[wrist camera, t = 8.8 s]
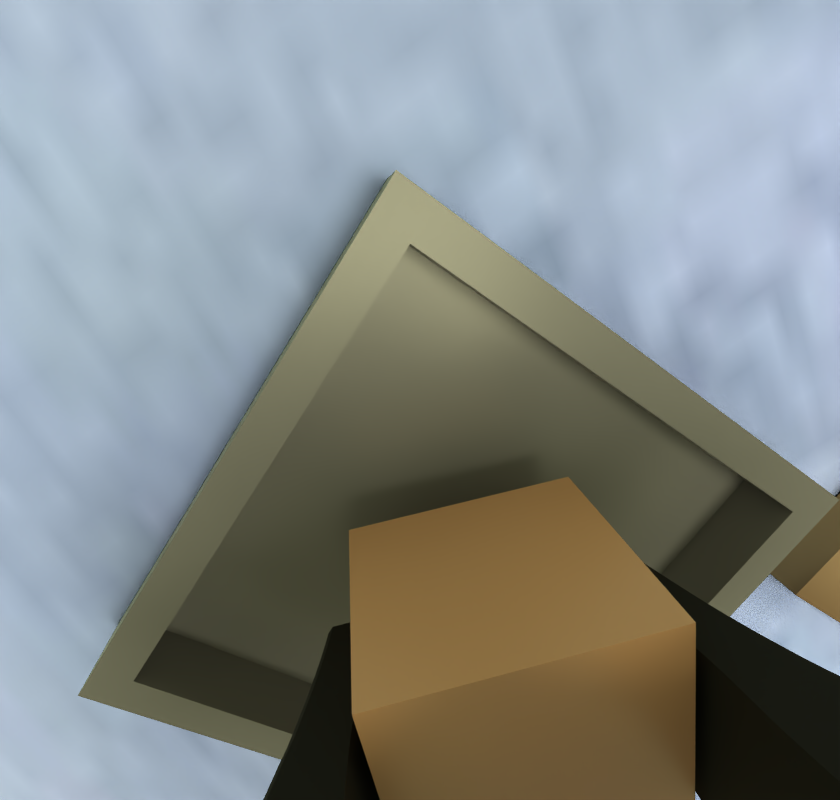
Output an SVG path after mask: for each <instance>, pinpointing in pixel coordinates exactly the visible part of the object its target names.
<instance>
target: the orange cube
mask: <svg viewBox="0 0 840 800" xmlns="http://www.w3.org/2000/svg"><path fill="white" fill-rule="evenodd" d="M349 566H350V630H351V693H352V717H353V720H354V723H355V726H356V729H357V732H358V735H359V738H360V741H361V744H362V747H363V750H364V753H365V756H366V759H367V762H368V765H369V768H370V771H371V774H372V777H373V780H374V783H375V786H376V789H377V792H378V795H379V798H380V800H695V707H696V622H695V621H694V620H693V619H692V618H691V616H690V615H689V614H688V613H687V612H686V611H685V610H684V608H683V607H682V606H681V605H680V604H679V603H678V602H677V600H676V599H675V598H674V597H673V596H672V595H671V594H670V592H669V591H668V590H667V589H666V588H665V587H664V586H663V584H662V583H661V582H660V581H659V580H658V579H657V578H656V576H655V575H654V574H653V573H652V572H651V571H650V570H649V568H648V567H647V566H646V565H645V564H644V563H643V562H642V560H641V559H640V558H639V557H638V556H637V555H636V554H635V552H634V551H633V550H632V549H631V548H630V547H629V546H628V544H627V543H626V542H625V541H624V540H623V539H622V538H621V536H620V535H619V534H618V533H617V532H616V531H615V530H614V528H613V527H612V526H611V525H610V524H609V523H608V522H607V520H606V519H605V518H604V517H603V516H602V515H601V514H600V512H599V511H598V510H597V509H596V508H595V507H594V506H593V504H592V503H591V502H590V501H589V500H588V499H587V498H586V496H585V495H584V494H583V493H582V492H581V491H580V490H579V488H578V487H577V486H576V485H575V484H574V483H573V482H572V480H571V479H570V478H569V477H565V478H561V479H556V480H552V481H548V482H544V483H540V484H536V485H532V486H528V487H524V488H519V489H515V490H511V491H507V492H503V493H499V494H495V495H491V496H487V497H482V498H478V499H474V500H470V501H466V502H462V503H458V504H454V505H450V506H446V507H441V508H437V509H433V510H429V511H425V512H421V513H417V514H413V515H409V516H404V517H400V518H396V519H392V520H388V521H384V522H380V523H376V524H372V525H367V526H363V527H359V528H355V529H351V530H349Z"/></svg>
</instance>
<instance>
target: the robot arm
mask: <svg viewBox="0 0 840 800" xmlns="http://www.w3.org/2000/svg"><path fill="white" fill-rule="evenodd" d="M644 564H645V563H644ZM645 565H646V564H645ZM646 566H647V567H648V568H649V570H650V571H651V572H652V573H653V574H654V575H655V576H656V578H657V579H658V580H659V581H660V582H661V583H662V584H663V586H664V587H665V588H666V589H667V590H668V591H669V592H670V594H671V595H672V596H673V597H674V598H675V599H676V600H677V602H678V603H679V604H680V605H681V606H682V607H683V608H684V610H685V611H686V612H687V613H688V614H689V615H690V616H691V618H692V619H693V620H694V621H695V622H696V707H695V791H696V793H697V794H698V796H699V797H700V799H701V800H840V676H838V675H836V674H834V673H832V672H830V671H828V670H826V669H824V668H822V667H820V666H818V665H816V664H814V663H812V662H810V661H808V660H806V659H804V658H802V657H801V656H799V655H797V654H795V653H793V652H791V651H790V650H788V649H786V648H784V647H782V646H780V645H778V644H777V643H775V642H773V641H771V640H769V639H767V638H766V637H764V636H762V635H760V634H758V633H757V632H755V631H753V630H751V629H750V628H748V627H746V626H744V625H743V624H741V623H739V622H737V621H736V620H734V619H732V618H731V617H729V616H727V615H726V614H724V613H722V612H721V611H719V610H717V609H716V608H714V607H712V606H711V605H709V604H707V603H706V602H704V601H703V600H701V599H699V598H698V597H696V596H695V595H693V594H691V593H690V592H688V591H687V590H685V589H684V588H682V587H680V586H679V585H677V584H676V583H674V582H673V581H671V580H669V579H668V578H666V577H665V576H663V575H662V574H660V573H659V572H657V571H656V570H654V569H652V568H651V567H649V566H648V565H646ZM263 800H380V798H379V795H378V792H377V789H376V786H375V783H374V780H373V777H372V774H371V771H370V768H369V765H368V762H367V759H366V756H365V753H364V750H363V747H362V744H361V741H360V738H359V735H358V732H357V729H356V726H355V723H354V720H353V717H352V693H351V630H350V622H349V623H345V624H342V625H338V626H334V627H332V629H331V630H330V631H329V633H328V637H327V640H326V644H325V647H324V650H323V653H322V656H321V660H320V663H319V666H318V668H317V671H316V674H315V677H314V680H313V683H312V685H311V688H310V691H309V694H308V696H307V699H306V702H305V704H304V707H303V709H302V712H301V714H300V717H299V719H298V722H297V724H296V727H295V729H294V732H293V734H292V737H291V739H290V742H289V744H288V746H287V749H286V751H285V753H284V755H283V757H282V760H281V762H280V764H279V766H278V769H277V771H276V773H275V775H274V777H273V780H272V782H271V784H270V786H269V788H268V791H267V793H266V795H265V797H264V799H263Z"/></svg>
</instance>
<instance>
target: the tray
mask: <svg viewBox="0 0 840 800" xmlns="http://www.w3.org/2000/svg"><path fill="white" fill-rule="evenodd" d="M565 477H569V478H570V479H571V480H572V482H573V483H574V484H575V485H576V486H577V487H578V488H579V490H580V491H581V492H582V493H583V494H584V495H585V496H586V498H587V499H588V500H589V501H590V502H591V503H592V504H593V506H594V507H595V508H596V509H597V510H598V511H599V512H600V514H601V515H602V516H603V517H604V518H605V519H606V520H607V522H608V523H609V524H610V525H611V526H612V527H613V528H614V530H615V531H616V532H617V533H618V534H619V535H620V536H621V538H622V539H623V540H624V541H625V542H626V543H627V544H628V546H629V547H630V548H631V549H632V550H633V551H634V552H635V554H636V555H637V556H638V557H639V558H640V559H641V560H642V562H643V563H645V564H646V565H648V566H649V567H651V568H652V569H654V570H656V571H657V572H659V573H660V574H662V575H663V576H665V577H666V578H668V579H669V580H671V581H673V582H674V583H676V584H677V585H679V586H680V587H682V588H684V589H685V590H687V591H688V592H690V593H691V594H693V595H695V596H696V597H698V598H699V599H701V600H703V601H704V602H706V603H707V604H709V605H711V606H712V607H714V608H716V609H717V610H719V611H721V612H722V613H724V614H726V615H727V616H729V617H730V616H731V615H732V614H733V612H734V611H735V610H736V609H737V608H738V607H739V606H740V605H741V604H742V603H743V602H744V601H745V600H746V599H747V598H748V597H749V595H750V594H751V593H752V592H753V591H754V590H755V589H756V588H757V587H758V586H759V585H760V584H761V583H762V582H763V581H764V580H765V578H766V577H767V576H768V575H769V574H770V573H771V572H772V571H773V570H774V569H775V568H776V567H777V566H778V565H779V564H780V563H781V561H782V560H783V559H784V558H785V557H786V556H787V555H788V554H789V553H790V552H791V551H792V550H793V549H794V548H795V547H796V546H797V544H798V543H799V542H800V541H801V540H802V539H803V538H804V537H805V536H806V535H807V534H808V533H809V532H810V531H811V530H812V529H813V527H814V526H815V525H816V524H817V523H818V522H819V521H820V520H821V519H822V518H823V517H824V516H825V515H826V514H827V513H828V512H829V510H830V509H831V508H832V507H833V506H834V505H835V504H836V503H837V502H838V501H839V499H837V498H836V497H835V496H833V495H832V494H831V493H829V492H828V491H827V490H825V489H824V488H823V487H821V486H820V485H819V484H817V483H816V482H815V481H813V480H812V479H811V478H809V477H808V476H807V475H805V474H804V473H803V472H801V471H800V470H799V469H797V468H796V467H794V466H793V465H792V464H790V463H789V462H788V461H786V460H785V459H784V458H782V457H781V456H780V455H778V454H777V453H776V452H774V451H773V450H772V449H770V448H769V447H768V446H766V445H765V444H764V443H762V442H761V441H760V440H758V439H757V438H756V437H754V436H753V435H751V434H750V433H749V432H747V431H746V430H745V429H743V428H742V427H741V426H739V425H738V424H737V423H735V422H734V421H733V420H731V419H730V418H729V417H727V416H726V415H725V414H723V413H722V412H721V411H719V410H718V409H717V408H715V407H714V406H713V405H711V404H710V403H708V402H707V401H706V400H704V399H703V398H702V397H700V396H699V395H698V394H696V393H695V392H694V391H692V390H691V389H690V388H688V387H687V386H686V385H684V384H683V383H682V382H680V381H679V380H678V379H676V378H675V377H674V376H672V375H671V374H670V373H668V372H667V371H666V370H664V369H663V368H661V367H660V366H659V365H657V364H656V363H655V362H653V361H652V360H651V359H649V358H648V357H647V356H645V355H644V354H643V353H641V352H640V351H639V350H637V349H636V348H635V347H633V346H632V345H631V344H629V343H628V342H627V341H625V340H624V339H623V338H621V337H620V336H618V335H617V334H616V333H614V332H613V331H612V330H610V329H609V328H608V327H606V326H605V325H604V324H602V323H601V322H600V321H598V320H597V319H596V318H594V317H593V316H592V315H590V314H589V313H588V312H586V311H585V310H584V309H582V308H581V307H580V306H578V305H577V304H575V303H574V302H573V301H571V300H570V299H569V298H567V297H566V296H565V295H563V294H562V293H561V292H559V291H558V290H557V289H555V288H554V287H553V286H551V285H550V284H549V283H547V282H546V281H545V280H543V279H542V278H541V277H539V276H538V275H537V274H535V273H534V272H532V271H531V270H530V269H528V268H527V267H526V266H524V265H523V264H522V263H520V262H519V261H518V260H516V259H515V258H514V257H512V256H511V255H510V254H508V253H507V252H506V251H504V250H503V249H502V248H500V247H499V246H498V245H496V244H495V243H494V242H492V241H491V240H490V239H488V238H487V237H485V236H484V235H483V234H481V233H480V232H479V231H477V230H476V229H475V228H473V227H472V226H471V225H469V224H468V223H467V222H465V221H464V220H463V219H461V218H460V217H459V216H457V215H456V214H455V213H453V212H452V211H451V210H449V209H448V208H447V207H445V206H444V205H442V204H441V203H440V202H438V201H437V200H436V199H434V198H433V197H432V196H430V195H429V194H428V193H426V192H425V191H424V190H422V189H421V188H420V187H418V186H417V185H416V184H414V183H413V182H412V181H410V180H409V179H408V178H406V177H405V176H404V175H402V174H401V173H399V172H398V171H397V170H396V171H395V172H394V173H393V174H392V175H391V176H390V177H389V178H388V179H387V180H386V182H385V183H384V185H383V187H382V188H381V190H380V191H379V193H378V195H377V196H376V198H375V200H374V201H373V203H372V205H371V206H370V208H369V210H368V211H367V213H366V215H365V216H364V218H363V220H362V221H361V223H360V225H359V226H358V228H357V230H356V231H355V233H354V235H353V236H352V238H351V240H350V241H349V243H348V244H347V246H346V248H345V249H344V251H343V253H342V254H341V256H340V258H339V259H338V261H337V263H336V264H335V266H334V268H333V269H332V271H331V273H330V274H329V276H328V278H327V279H326V281H325V283H324V284H323V286H322V288H321V289H320V291H319V292H318V294H317V296H316V297H315V299H314V301H313V302H312V304H311V306H310V307H309V309H308V311H307V312H306V314H305V316H304V317H303V319H302V321H301V322H300V324H299V326H298V327H297V329H296V331H295V332H294V334H293V336H292V337H291V339H290V341H289V342H288V344H287V345H286V347H285V349H284V350H283V352H282V354H281V355H280V357H279V359H278V360H277V362H276V364H275V365H274V367H273V369H272V370H271V372H270V374H269V375H268V377H267V379H266V380H265V382H264V384H263V385H262V387H261V389H260V390H259V392H258V394H257V395H256V397H255V398H254V400H253V402H252V403H251V405H250V407H249V408H248V410H247V412H246V413H245V415H244V417H243V418H242V420H241V422H240V423H239V425H238V427H237V428H236V430H235V432H234V433H233V435H232V437H231V438H230V440H229V442H228V443H227V445H226V446H225V448H224V450H223V451H222V453H221V455H220V456H219V458H218V460H217V461H216V463H215V465H214V466H213V468H212V470H211V471H210V473H209V475H208V476H207V478H206V480H205V481H204V483H203V485H202V486H201V488H200V490H199V491H198V493H197V495H196V496H195V498H194V499H193V501H192V503H191V504H190V506H189V508H188V509H187V511H186V513H185V514H184V516H183V518H182V519H181V521H180V523H179V524H178V526H177V528H176V529H175V531H174V533H173V534H172V536H171V538H170V539H169V541H168V543H167V544H166V546H165V548H164V549H163V551H162V552H161V554H160V556H159V557H158V559H157V561H156V562H155V564H154V566H153V567H152V569H151V571H150V572H149V574H148V576H147V577H146V579H145V581H144V582H143V584H142V586H141V587H140V589H139V591H138V592H137V594H136V596H135V597H134V599H133V600H132V602H131V604H130V605H129V607H128V609H127V610H126V612H125V614H124V615H123V617H122V619H121V620H120V622H119V624H118V625H117V627H116V629H115V631H114V632H113V634H112V636H111V638H110V639H109V641H108V643H107V645H106V647H105V648H104V650H103V652H102V654H101V655H100V657H99V659H98V661H97V663H96V664H95V666H94V668H93V670H92V671H91V673H90V675H89V677H88V679H87V680H86V682H85V684H84V686H83V687H82V689H81V691H80V693H79V695H78V696H81V697H84V698H87V699H90V700H94V701H97V702H100V703H103V704H106V705H109V706H113V707H116V708H119V709H122V710H125V711H128V712H132V713H135V714H138V715H141V716H144V717H147V718H151V719H154V720H157V721H160V722H163V723H167V724H170V725H173V726H176V727H179V728H182V729H186V730H189V731H192V732H195V733H198V734H201V735H205V736H208V737H211V738H214V739H217V740H221V741H224V742H227V743H230V744H233V745H236V746H240V747H243V748H246V749H249V750H252V751H255V752H259V753H262V754H265V755H268V756H271V757H275V758H278V759H281V760H282V757H283V755H284V753H285V751H286V749H287V746H288V744H289V742H290V739H291V737H292V734H293V732H294V729H295V727H296V724H297V722H298V719H299V717H300V714H301V712H302V709H303V707H304V704H305V702H306V699H307V696H308V694H309V691H310V688H311V685H312V683H313V680H314V677H315V674H316V671H317V668H318V666H319V663H320V660H321V656H322V653H323V650H324V647H325V644H326V640H327V637H328V633H329V631H330V630H331V629H332V627H334V626H338V625H342V624H345V623H349V622H350V566H349V530H351V529H355V528H359V527H363V526H367V525H372V524H376V523H380V522H384V521H388V520H392V519H396V518H400V517H404V516H409V515H413V514H417V513H421V512H425V511H429V510H433V509H437V508H441V507H446V506H450V505H454V504H458V503H462V502H466V501H470V500H474V499H478V498H482V497H487V496H491V495H495V494H499V493H503V492H507V491H511V490H515V489H519V488H524V487H528V486H532V485H536V484H540V483H544V482H548V481H552V480H556V479H561V478H565Z"/></svg>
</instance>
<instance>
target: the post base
mask: <svg viewBox="0 0 840 800" xmlns="http://www.w3.org/2000/svg"><path fill="white" fill-rule="evenodd" d="M836 498H837V499H839V501H838V502H837V503H836V504H835V505H834V506H833V507H832V508H831V509H830V510H829V512H828V513H827V514H826V515H825V516H824V517H823V518H822V519H821V520H820V521H819V522H818V523H817V524H816V525H815V526H814V527H813V529H812V530H811V531H810V532H809V533H808V534H807V535H806V536H805V537H804V538H803V539H802V540H801V541H800V542H799V543H798V544H797V546H796V547H795V548H794V549H793V550H792V551H791V552H790V553H789V554H788V555H787V556H786V557H785V558H784V559H783V560H782V561H781V563H780V564H779V565H778V566H777V567H776V568H775V569H774V570H773V571H772V572H771V573H770V574H771V575H772V576H774V577H775V578H776V579H777V580H778V581H780V582H781V583H782V584H783V585H784V586H786V587H787V588H788V589H789V590H790V591H792V592H793V593H794V594H795V595H797V596H798V597H800V598H801V599H803V600H805V601H806V602H808V603H809V604H811V605H813V606H814V607H816V608H817V609H819V610H821V611H822V612H824V613H825V614H827V615H829V616H830V617H832V618H833V619H835V620H837V621H838V622H840V493H839V495H838V496H837V497H836Z"/></svg>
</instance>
